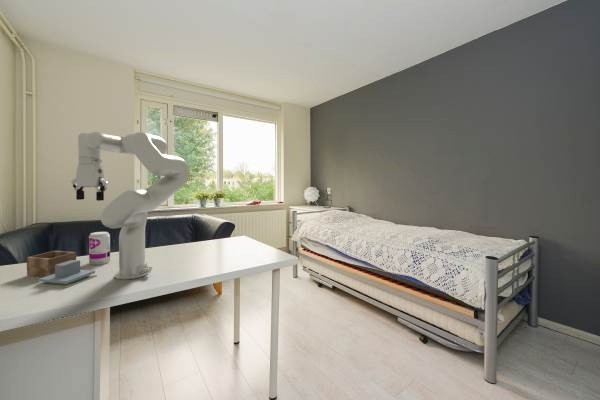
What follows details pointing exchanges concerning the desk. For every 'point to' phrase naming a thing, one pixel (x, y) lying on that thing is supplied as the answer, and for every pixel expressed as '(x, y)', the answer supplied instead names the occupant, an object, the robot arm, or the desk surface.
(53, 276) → the lid
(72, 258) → the walnut box
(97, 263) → the supplement can
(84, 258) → the desk surface
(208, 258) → the desk surface
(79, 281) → the felt mat
